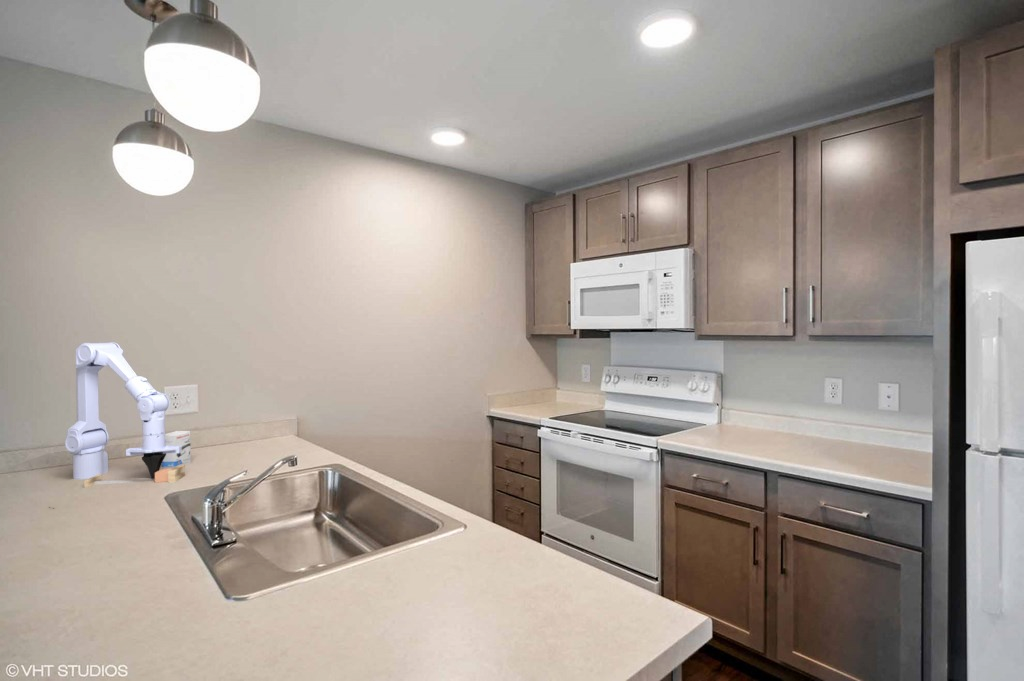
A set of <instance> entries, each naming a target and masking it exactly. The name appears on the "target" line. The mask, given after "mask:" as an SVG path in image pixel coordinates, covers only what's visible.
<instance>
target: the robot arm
mask: <svg viewBox="0 0 1024 681" xmlns="http://www.w3.org/2000/svg"><path fill="white" fill-rule="evenodd" d="M105 367H109V368H111V370H112V371H113V372H114V373H116V375H117V376H118V377H119V378H120V379H121V380H122V381H124V382H125V384H124V389H125V390H126V391H127V392H128V393H129V394H130V396H131V397H132V398H133V399H134V400H135V402H136V403H137V404H136V409H137V412H138V413H139V416H140V418H139V419H140V420H141V423H142V424H141V425H142V446H141V447H130V448H126V449H125V456H126V457H129V456H139V455H140V456H142V457H141V460H142V462H143V463H144V465H145V466H146V468H147V469H148V472H149V475H150V478H155V472H157V471H159V470H161V467H162V462H163V460H164V458H165V456H166V453H181V452H182V446H165V434H166V411H167V410H168V409H169V407H170V398H169V397H168V396H167V394H166V393H163V392H160V391H157V390H156V389H155V388H154V387H153V386H152V384H151V383H150V382H149V381H148V379H147V377H144V376H142V375H140V376H139V375H137V374H136V372H135V371H134V370H133V368H132V366H130V364H129V363H128V361H127V360H126V358H125V357H124V350H123V349H122V348H121V346H120V345H119V344H118V343H117V342H114V341H110V342H93V343H92V342H83V343H82V344H80V345H79V346H78V347H77V348H76V349H75V384H76V386H75V388H76V389H75V390H76V392H75V393H76V421H75V423H74V424H72V425H71V426H70V427H69V428H68V429H67V430H66V431H67V433H66V437H65V441H64V447H65V448H66V450H67V451H68V452H69V454H72V470H73V471H72V476H73V478H72V479H74V480H88V479H90V478H92V477H94V476H96V475H98V474H102V475H104V474H105V473H107V472H109V454H108V452H107V451H106V450H105V447H106V446H107V445H108V443H109V442H110V435H109V433H108V430H107V424H106V423H104V422H102V421H101V420H100V413H99V412H100V411H99V410H100V409H99V408H100V407H99V405H100V404H99V372H100V371H101V370H102V369H103V368H105ZM164 451H165V452H164Z"/></svg>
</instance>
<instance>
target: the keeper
mask: <svg viewBox="0 0 1024 681" xmlns="http://www.w3.org/2000/svg"><path fill="white" fill-rule="evenodd" d="M173 468H174V467H165V468H160V469H159V471H157V472H155V481H154V483H168V471H169V470H171V469H173Z"/></svg>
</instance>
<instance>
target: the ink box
mask: <svg viewBox="0 0 1024 681" xmlns="http://www.w3.org/2000/svg"><path fill="white" fill-rule="evenodd" d="M191 444H192V443H191V430H175V431H172V432H171V431H170V432H168V433H165V446H182V452H181V453H166V456H165V458H164V460H163V462H162V464H161V467H165V468H174V467H176V466H178V465H186V464H191V463H192V461H191V460H192V457H191V456H192V455H191V452H192V451H191V449H192V448H191V446H192V445H191ZM164 452H165V451H164Z"/></svg>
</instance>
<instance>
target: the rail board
mask: <svg viewBox="0 0 1024 681" xmlns="http://www.w3.org/2000/svg"><path fill="white" fill-rule="evenodd" d="M185 466H186V464H180V465H178V466H175V467H172V468H173V469H171V470H169V471H168V482H167V483H169V484H172V483H177V482H178V481H180V480H181V479H183V477H185V476H186V470H185V469H186V467H185ZM102 475H103V474H98V475H96V476H94V477H92V478H89V479H85V480H84V481H83V482H84V483H83V484H84V486H83V487H84V489H85V488H90V487H92V486H94V485H108V484H123V483H141V482H142V483H143V482H155V478H151V477H140V478H123V479H106V480H105V479H104V480H103V476H102Z"/></svg>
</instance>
